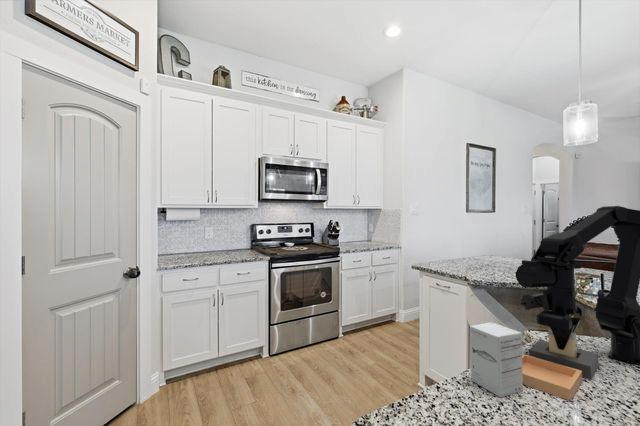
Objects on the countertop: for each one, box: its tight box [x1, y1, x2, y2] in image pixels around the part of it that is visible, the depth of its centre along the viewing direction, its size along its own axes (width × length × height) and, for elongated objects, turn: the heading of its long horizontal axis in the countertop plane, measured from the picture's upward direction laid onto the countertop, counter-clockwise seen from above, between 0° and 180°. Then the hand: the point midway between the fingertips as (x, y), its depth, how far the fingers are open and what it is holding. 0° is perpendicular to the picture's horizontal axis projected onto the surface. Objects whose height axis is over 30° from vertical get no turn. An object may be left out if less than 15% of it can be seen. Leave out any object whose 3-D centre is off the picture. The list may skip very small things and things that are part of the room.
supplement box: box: [469, 321, 524, 398], centre depth 65 cm, size 7×7×13 cm
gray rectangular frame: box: [528, 339, 600, 381], centre depth 75 cm, size 10×12×3 cm
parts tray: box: [522, 353, 583, 402], centre depth 68 cm, size 12×12×2 cm
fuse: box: [547, 328, 578, 358], centre depth 75 cm, size 3×5×8 cm, turn 39°
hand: (562, 347), depth 75 cm, fingers closed on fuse, 3 cm apart
